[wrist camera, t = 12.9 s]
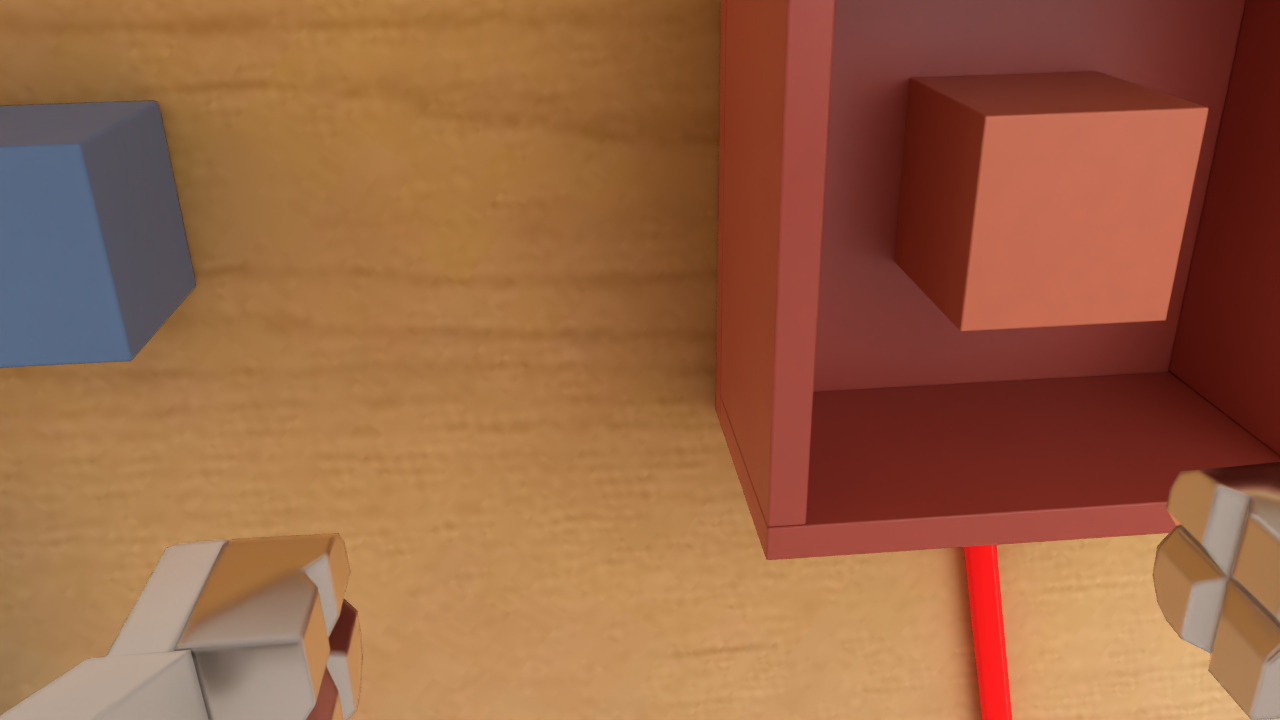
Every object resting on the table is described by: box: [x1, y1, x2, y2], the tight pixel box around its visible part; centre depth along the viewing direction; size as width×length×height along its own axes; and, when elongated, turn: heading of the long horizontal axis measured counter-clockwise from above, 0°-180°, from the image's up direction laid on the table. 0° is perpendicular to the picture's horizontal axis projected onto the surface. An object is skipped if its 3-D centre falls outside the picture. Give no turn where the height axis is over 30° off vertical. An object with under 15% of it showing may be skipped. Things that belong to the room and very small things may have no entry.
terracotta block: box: [895, 71, 1209, 331], centre depth 23 cm, size 4×4×4 cm
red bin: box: [716, 0, 1280, 560], centre depth 22 cm, size 13×13×7 cm
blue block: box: [0, 101, 196, 368], centre depth 22 cm, size 4×4×4 cm
